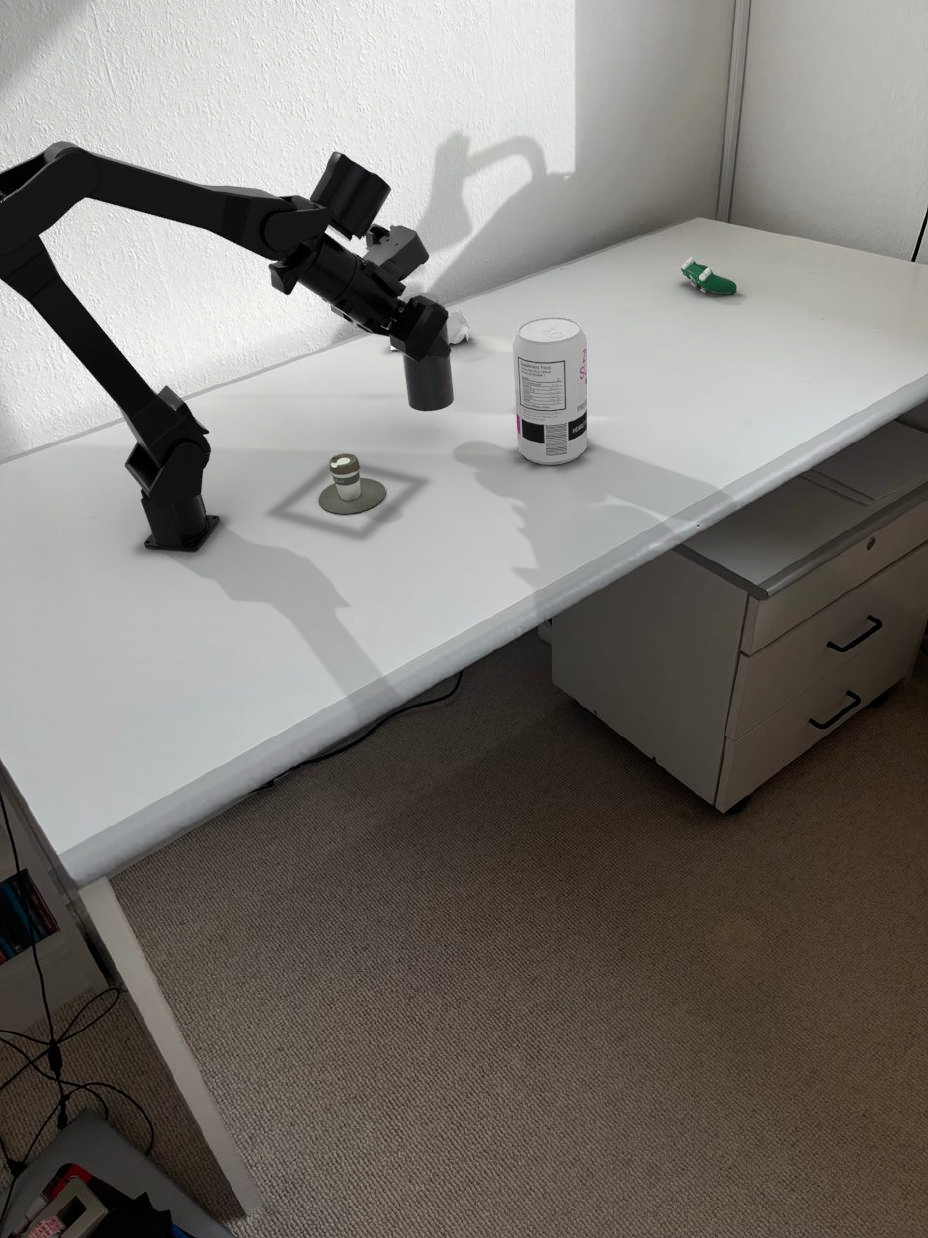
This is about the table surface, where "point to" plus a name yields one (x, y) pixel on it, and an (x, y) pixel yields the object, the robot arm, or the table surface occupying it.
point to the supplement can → (551, 389)
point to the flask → (429, 375)
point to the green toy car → (707, 278)
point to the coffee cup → (350, 488)
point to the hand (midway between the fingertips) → (435, 346)
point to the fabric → (455, 328)
